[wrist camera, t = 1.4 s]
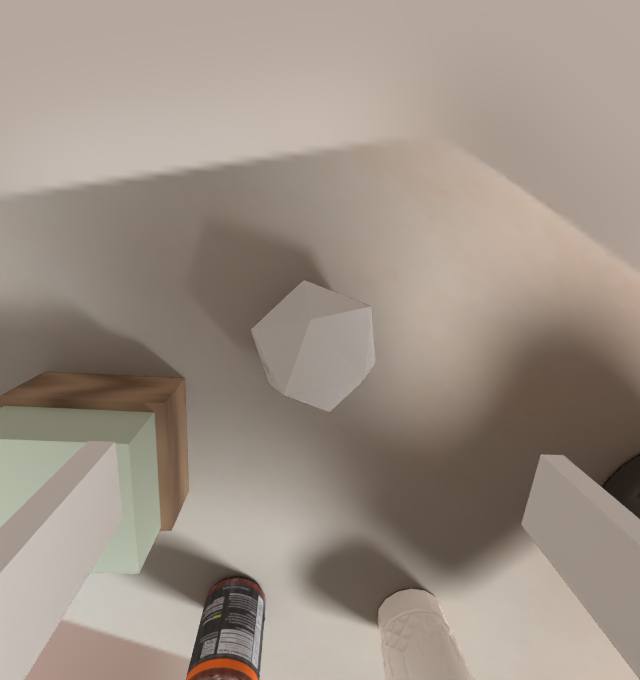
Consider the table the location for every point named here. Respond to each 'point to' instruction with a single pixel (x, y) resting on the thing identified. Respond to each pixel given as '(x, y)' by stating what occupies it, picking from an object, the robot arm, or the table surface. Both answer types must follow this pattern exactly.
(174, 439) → the walnut slab
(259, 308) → the table surface
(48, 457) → the sage block
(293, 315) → the die
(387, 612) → the white cup
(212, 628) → the supplement bottle
